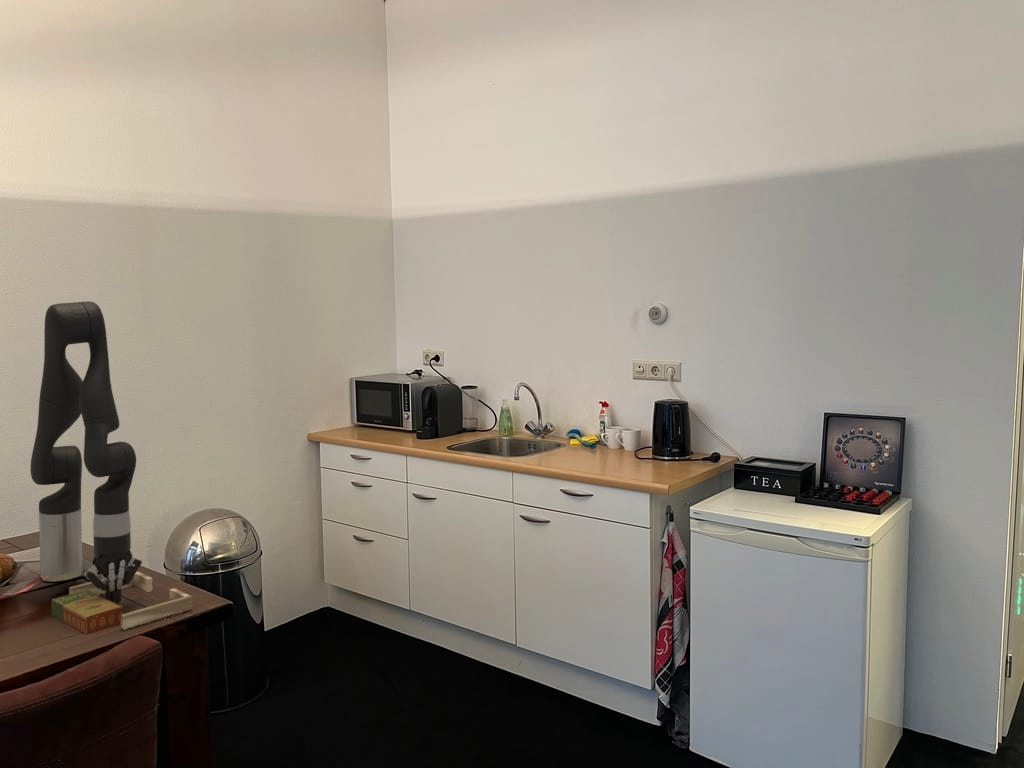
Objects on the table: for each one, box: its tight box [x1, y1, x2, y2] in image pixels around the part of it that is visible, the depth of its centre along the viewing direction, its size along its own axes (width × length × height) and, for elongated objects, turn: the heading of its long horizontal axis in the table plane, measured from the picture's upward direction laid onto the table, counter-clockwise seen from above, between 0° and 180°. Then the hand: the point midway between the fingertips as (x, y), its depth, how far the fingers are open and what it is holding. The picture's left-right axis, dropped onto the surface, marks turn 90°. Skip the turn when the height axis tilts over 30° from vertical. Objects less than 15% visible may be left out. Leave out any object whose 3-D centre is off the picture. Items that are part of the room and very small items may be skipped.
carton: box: [51, 590, 124, 635], centre depth 180 cm, size 8×16×4 cm, turn 53°
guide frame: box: [68, 570, 193, 631], centre depth 188 cm, size 25×16×3 cm, turn 52°
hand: (113, 604), depth 185 cm, fingers closed
